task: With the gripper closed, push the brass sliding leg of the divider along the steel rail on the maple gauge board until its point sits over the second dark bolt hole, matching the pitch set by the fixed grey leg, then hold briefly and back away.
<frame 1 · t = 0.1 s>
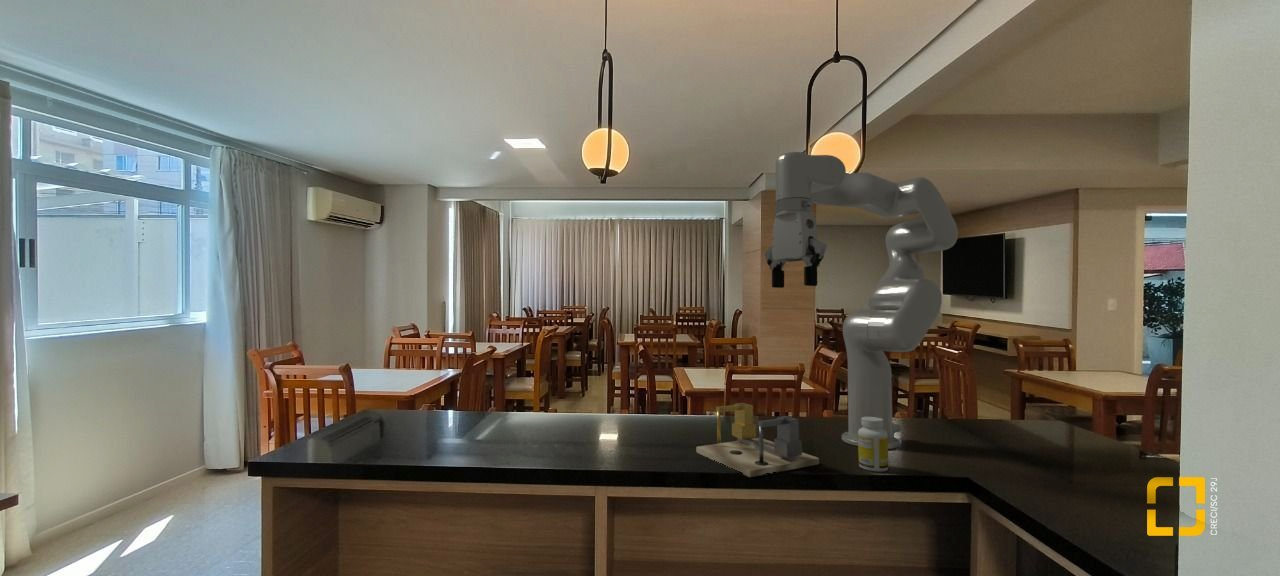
hand: (793, 286, 107), 37 cm above the counter, tool pointing down, fingers open, 9 cm apart
gauge board: (755, 458, 104), on the counter
supplement bottle: (873, 469, 97), on the counter
slider leg: (734, 422, 111), point 6 cm above the counter, slide at -7.5 cm
fixed leg: (777, 439, 98), point 5 cm above the counter
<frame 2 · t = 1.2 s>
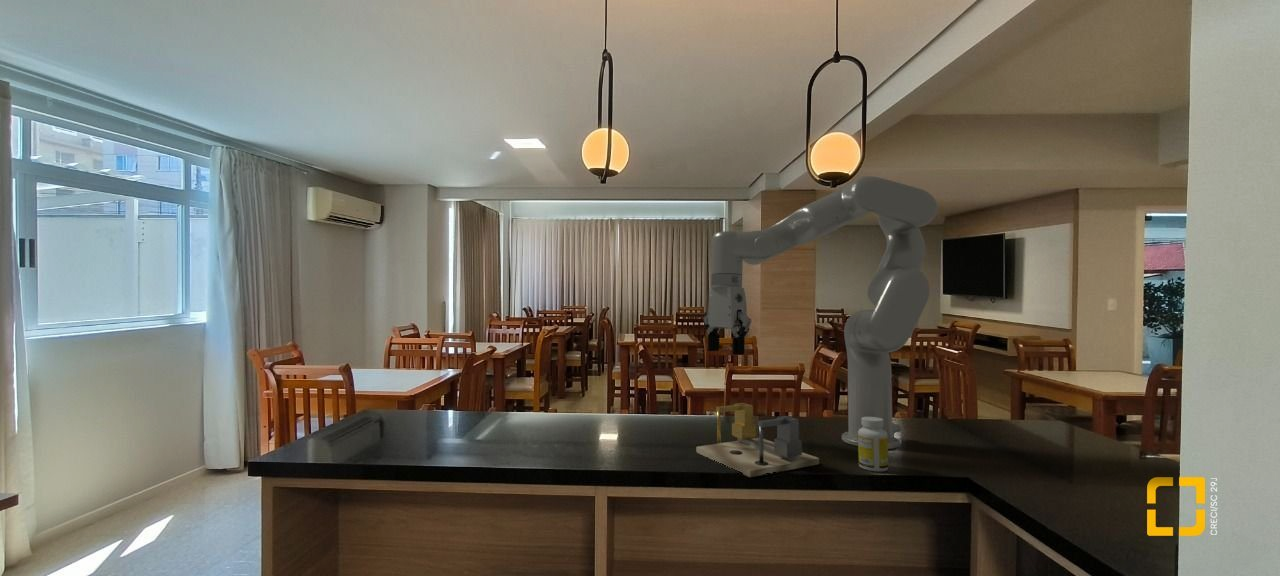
hand: (725, 352, 118), 21 cm above the counter, tool pointing down, fingers open, 9 cm apart
nothing on the counter moved.
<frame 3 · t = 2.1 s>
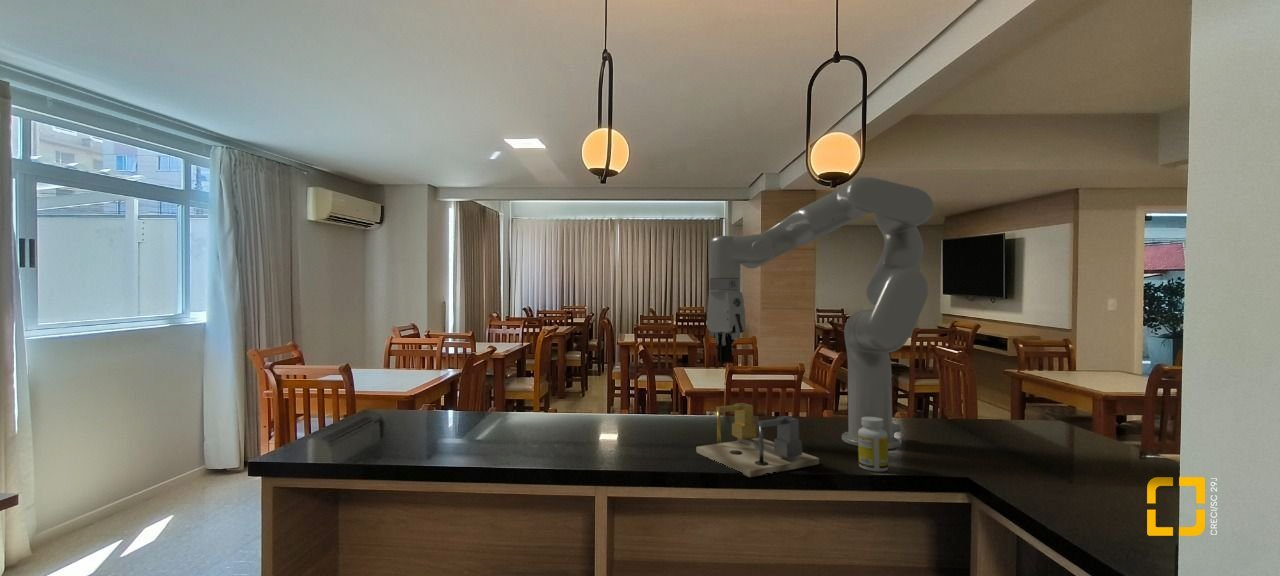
hand: (724, 361, 119), 19 cm above the counter, tool pointing down, fingers closed
nothing on the counter moved.
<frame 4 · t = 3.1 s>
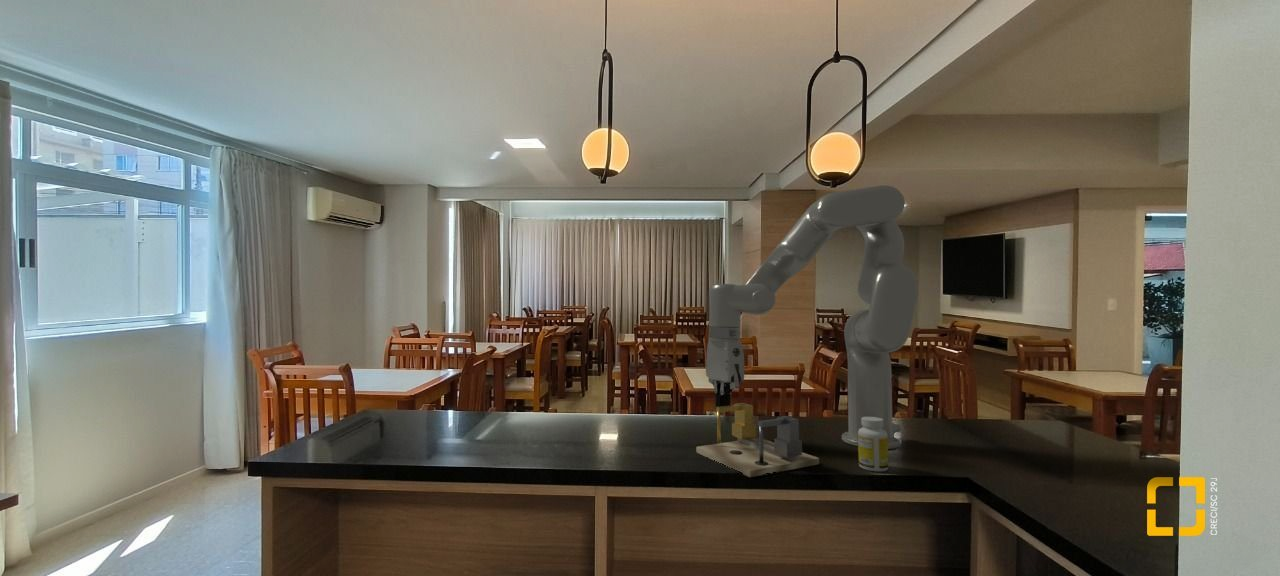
hand: (722, 409, 118), 7 cm above the counter, tool pointing down, fingers closed
nothing on the counter moved.
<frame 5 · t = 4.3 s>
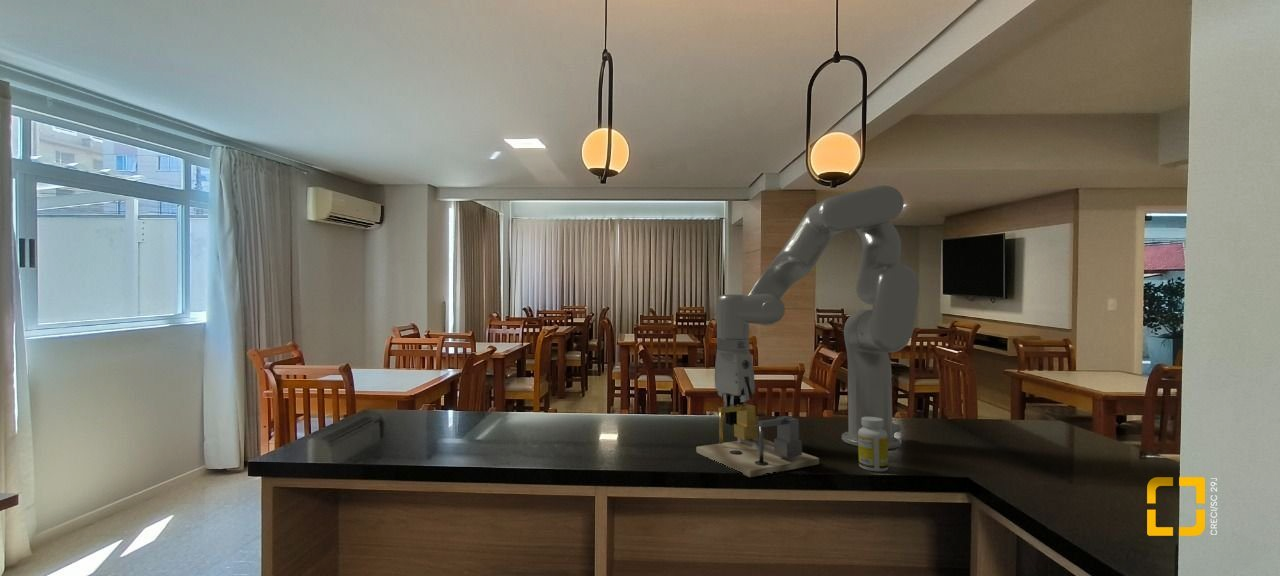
hand: (733, 423, 115), 5 cm above the counter, tool pointing down, fingers closed
slider leg: (736, 423, 110), point 6 cm above the counter, slide at -6.7 cm, touching gripper
everything else where it was.
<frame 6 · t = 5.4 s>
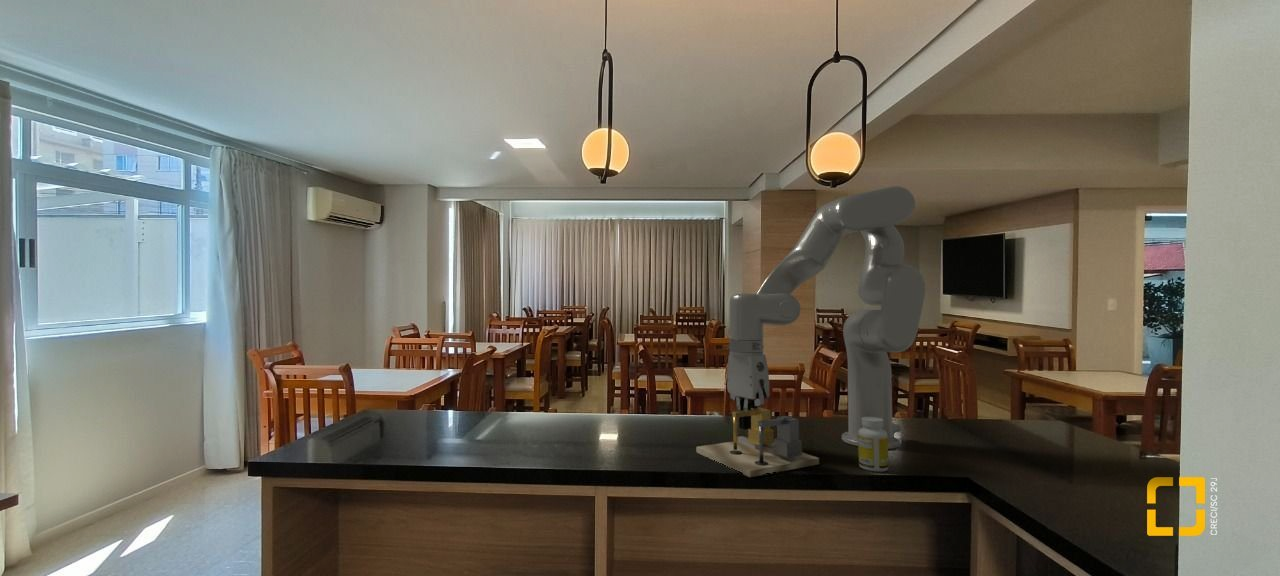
hand: (746, 428, 111), 5 cm above the counter, tool pointing down, fingers closed
slider leg: (751, 428, 105), point 6 cm above the counter, slide at -1.7 cm, touching gripper
everything else where it was.
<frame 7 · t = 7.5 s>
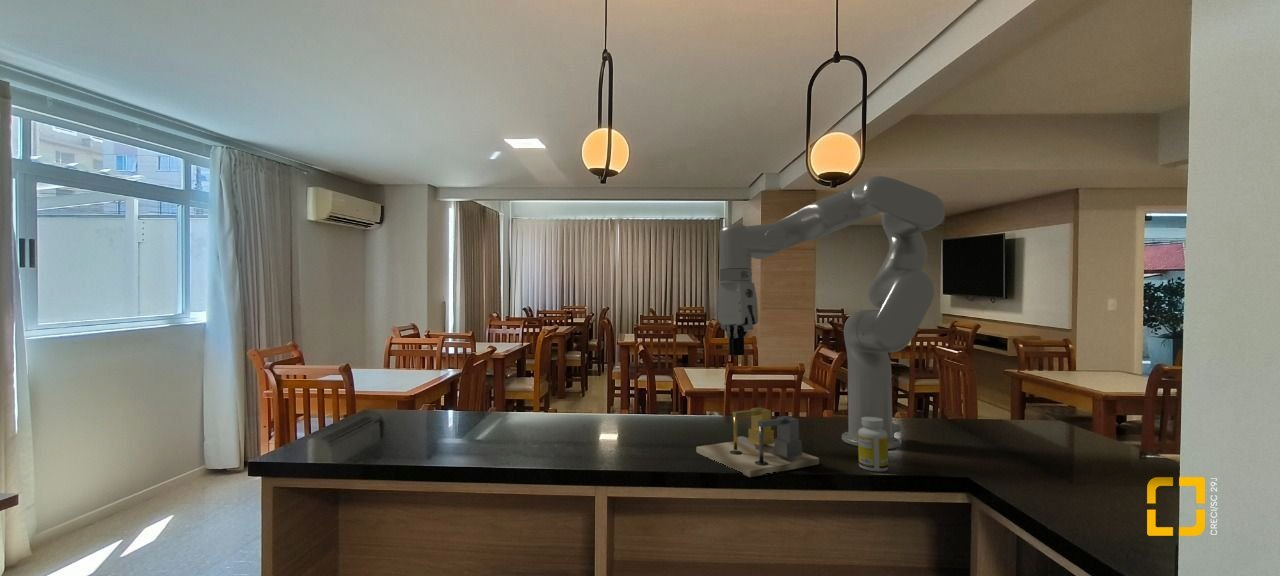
hand: (736, 354, 115), 21 cm above the counter, tool pointing down, fingers closed
slider leg: (751, 428, 105), point 6 cm above the counter, slide at -1.6 cm
everything else where it was.
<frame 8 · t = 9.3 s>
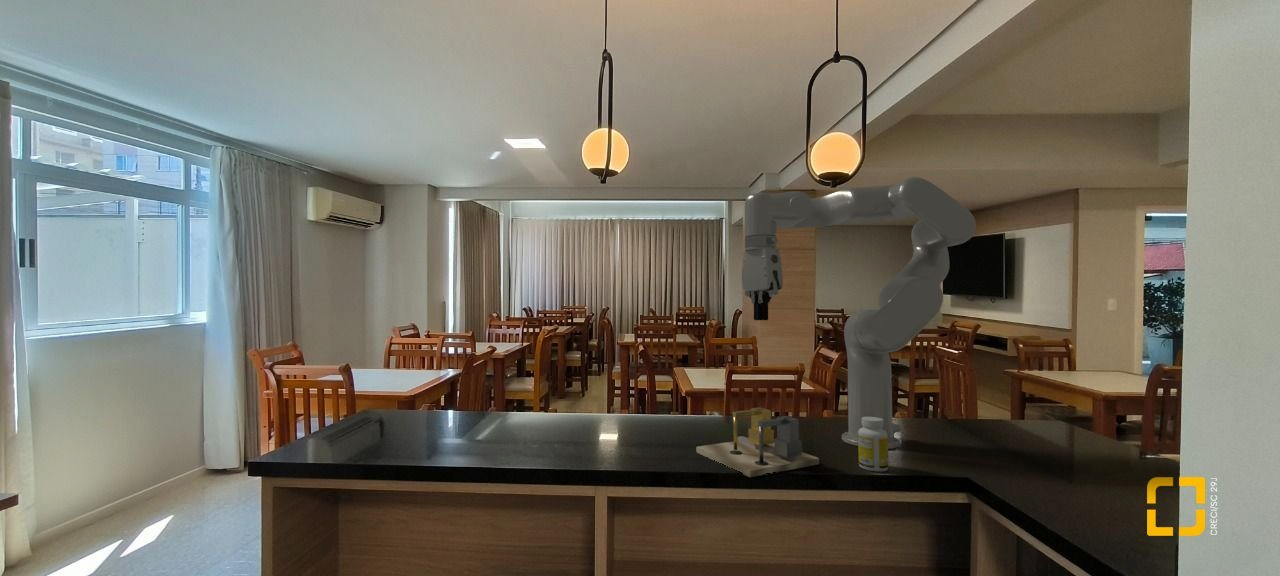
hand: (760, 320, 118), 29 cm above the counter, tool pointing down, fingers closed
nothing on the counter moved.
at the end: slider leg slide at -1.6 cm; the gripper is holding nothing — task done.
